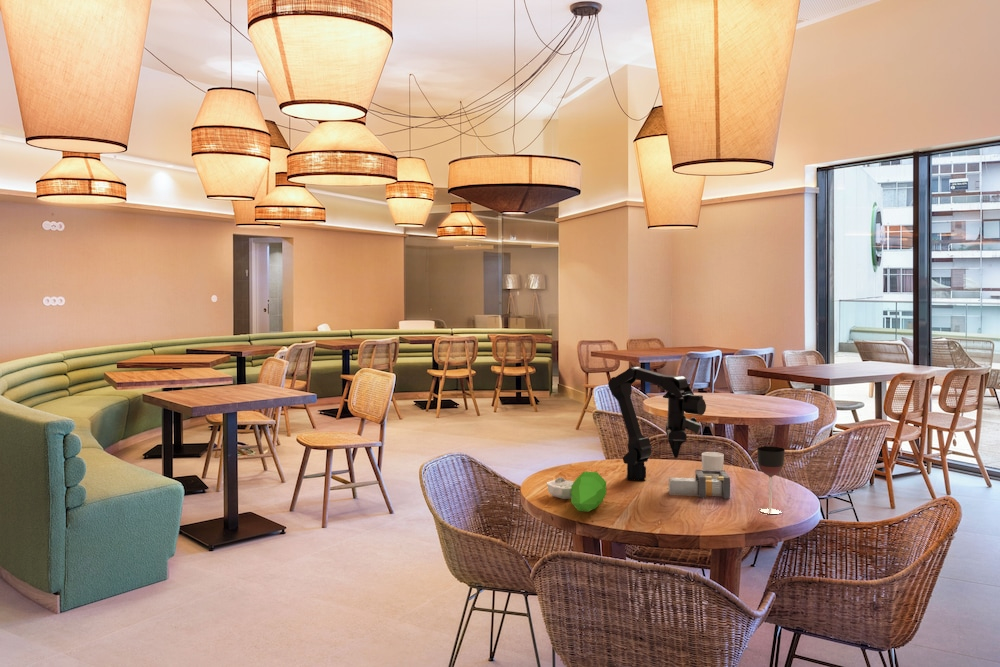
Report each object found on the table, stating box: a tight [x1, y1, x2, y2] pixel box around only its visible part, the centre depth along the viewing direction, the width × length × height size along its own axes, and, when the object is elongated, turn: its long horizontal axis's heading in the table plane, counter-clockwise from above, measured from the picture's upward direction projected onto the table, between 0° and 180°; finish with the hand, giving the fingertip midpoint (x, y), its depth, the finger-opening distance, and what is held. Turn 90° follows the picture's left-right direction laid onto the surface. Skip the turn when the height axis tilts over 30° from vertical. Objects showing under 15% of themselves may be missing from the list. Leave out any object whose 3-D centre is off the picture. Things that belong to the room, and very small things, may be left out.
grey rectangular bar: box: [668, 477, 723, 497], centre depth 254 cm, size 20×4×5 cm, turn 82°
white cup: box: [701, 451, 725, 479], centre depth 272 cm, size 8×8×10 cm
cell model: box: [546, 476, 574, 500], centre depth 250 cm, size 10×12×7 cm
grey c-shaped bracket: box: [694, 469, 731, 500], centre depth 253 cm, size 10×11×7 cm
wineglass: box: [756, 445, 786, 514], centre depth 232 cm, size 8×9×20 cm
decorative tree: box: [570, 471, 607, 512], centre depth 236 cm, size 11×12×30 cm
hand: (675, 454), depth 262 cm, fingers open, 9 cm apart
